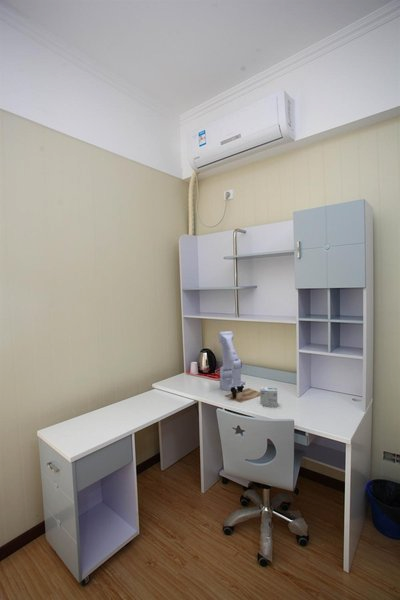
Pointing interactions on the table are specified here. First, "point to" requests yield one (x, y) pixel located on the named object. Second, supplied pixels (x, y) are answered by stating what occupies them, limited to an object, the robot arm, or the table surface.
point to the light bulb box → (268, 396)
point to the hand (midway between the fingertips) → (236, 397)
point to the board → (246, 395)
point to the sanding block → (238, 395)
